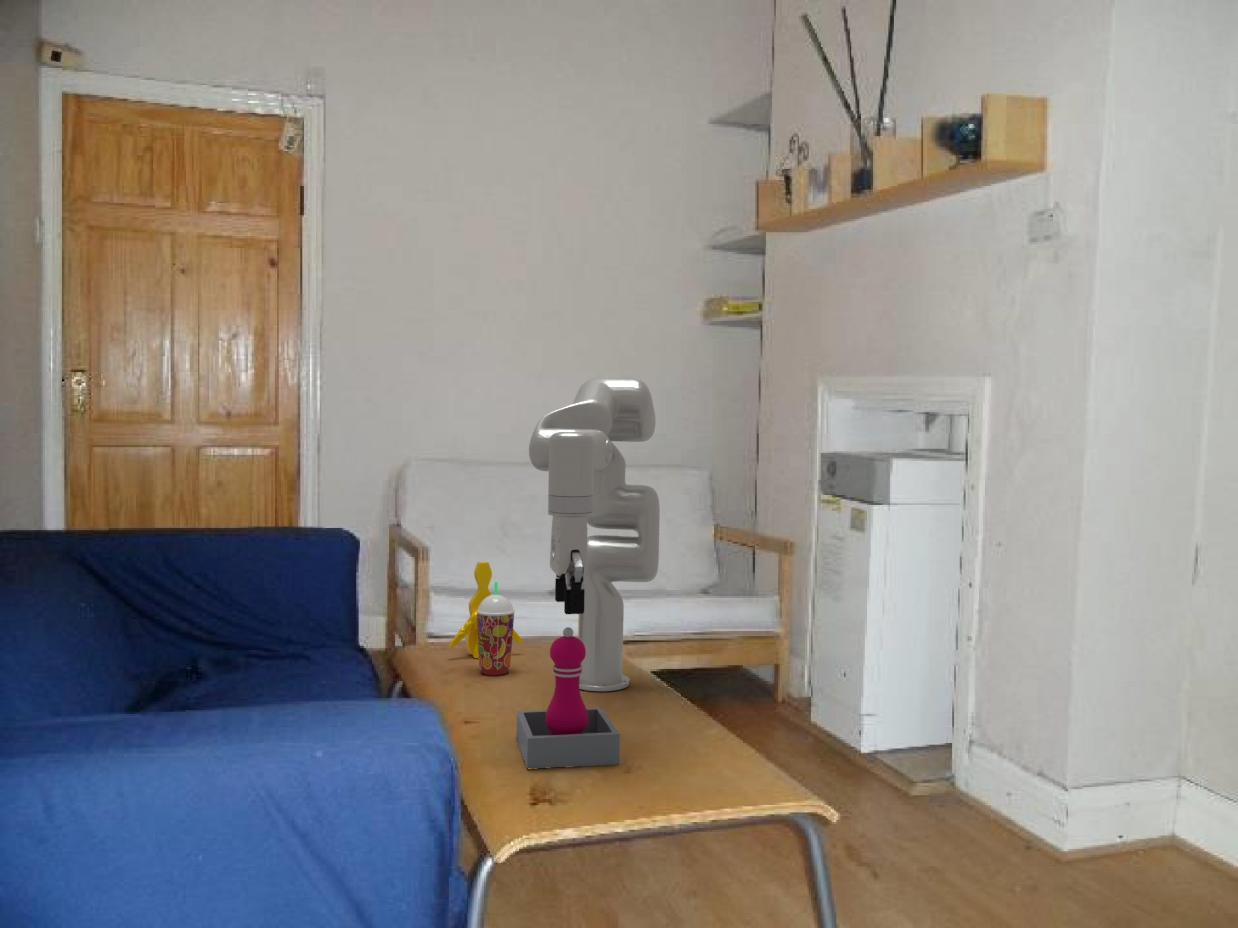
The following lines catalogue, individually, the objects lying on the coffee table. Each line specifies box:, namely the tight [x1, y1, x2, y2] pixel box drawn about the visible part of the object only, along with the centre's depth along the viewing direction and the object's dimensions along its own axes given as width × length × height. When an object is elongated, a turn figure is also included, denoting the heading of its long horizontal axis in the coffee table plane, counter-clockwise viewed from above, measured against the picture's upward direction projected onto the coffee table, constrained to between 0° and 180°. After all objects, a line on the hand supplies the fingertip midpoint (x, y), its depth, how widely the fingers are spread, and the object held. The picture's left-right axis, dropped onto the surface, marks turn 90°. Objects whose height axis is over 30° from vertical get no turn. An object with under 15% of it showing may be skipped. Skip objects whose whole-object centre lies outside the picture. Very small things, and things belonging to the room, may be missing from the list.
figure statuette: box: [448, 561, 524, 659], centre depth 231 cm, size 18×8×22 cm, turn 113°
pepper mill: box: [545, 626, 588, 735], centre depth 164 cm, size 7×7×20 cm
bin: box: [515, 707, 621, 769], centre depth 164 cm, size 15×15×5 cm
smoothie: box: [476, 581, 516, 676], centre depth 215 cm, size 8×8×20 cm
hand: (569, 607), depth 164 cm, fingers open, 9 cm apart
